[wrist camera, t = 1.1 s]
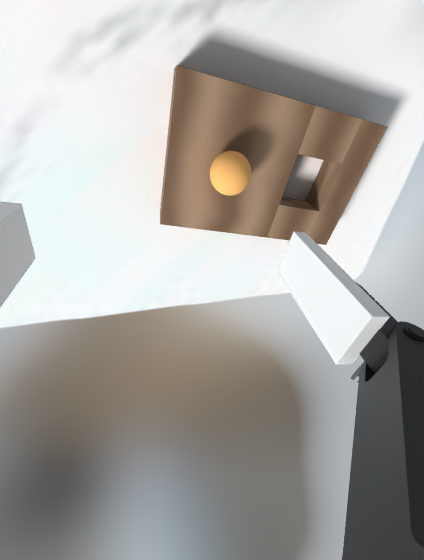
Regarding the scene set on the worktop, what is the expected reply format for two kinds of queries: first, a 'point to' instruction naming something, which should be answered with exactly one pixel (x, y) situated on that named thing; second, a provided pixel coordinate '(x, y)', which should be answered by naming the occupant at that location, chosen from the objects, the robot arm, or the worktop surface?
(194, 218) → the wooden block with hole
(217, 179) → the ball
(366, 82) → the worktop surface
